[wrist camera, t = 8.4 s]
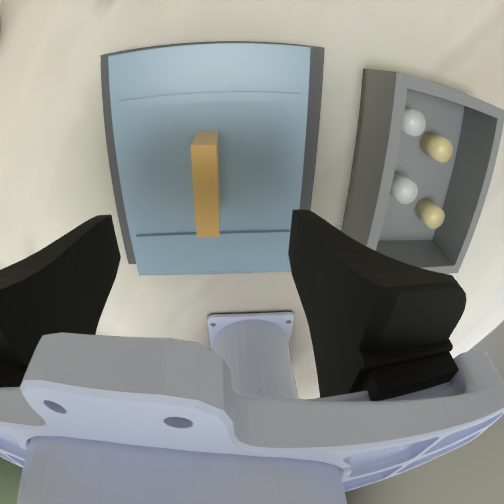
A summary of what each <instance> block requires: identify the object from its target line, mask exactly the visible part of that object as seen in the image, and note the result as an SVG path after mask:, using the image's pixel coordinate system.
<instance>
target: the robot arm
mask: <svg viewBox="0 0 504 504" xmlns="http://www.w3.org/2000/svg"><path fill="white" fill-rule="evenodd" d="M288 256H289V261H290V267H291V272H292V276H293V279H294V282H295V285H296V288H297V291H298V293H299V296H300V299H301V302H302V305H303V308H304V311H305V314H306V317H307V321H308V324H309V329H310V334H311V339H312V344H313V350H314V356H315V362H316V368H317V375H318V383H319V390H320V398H316V399H308V400H304V399H299V398H298V393H297V388H296V383H295V378H294V373H293V368H292V363H291V358H290V353H289V345H290V339H291V334H292V328H293V322H294V314H293V313H292V312H274V313H251V314H216V315H209V316H208V318H207V322H208V331H209V339H210V348H211V350H210V349H208V348H206V347H205V346H203V345H201V344H199V343H197V342H191V341H185V340H179V339H174V338H145V337H120V336H102V335H95V334H96V329H97V326H98V322H99V319H100V316H101V314H102V311H103V308H104V306H105V303H106V301H107V298H108V296H109V293H110V291H111V288H112V286H113V283H114V280H115V278H116V274H117V271H118V267H119V262H120V258H121V256H120V252H119V248H118V244H117V240H116V235H115V231H114V226H113V221H112V216H111V215H98V216H96V217H93V218H91V219H89V220H88V221H86V222H84V223H83V224H81V225H79V226H78V227H76V228H75V229H73V230H72V231H70V232H69V233H67V234H66V235H64V236H62V237H61V238H59V239H58V240H56V241H54V242H53V243H51V244H50V245H48V246H47V247H45V248H43V249H42V250H40V251H38V252H36V253H35V254H33V255H31V256H29V257H27V258H25V259H23V260H21V261H19V262H17V263H15V264H12V265H10V266H8V267H6V268H4V269H1V270H0V457H2V458H4V459H6V460H8V461H10V462H12V463H14V464H16V465H18V466H21V467H23V471H22V476H21V481H20V487H19V493H18V499H17V504H347V502H346V497H345V491H349V490H352V489H356V488H359V487H362V486H366V485H369V484H372V483H375V482H378V481H381V480H384V479H386V478H389V477H392V476H394V475H397V474H400V473H402V472H405V471H407V470H410V469H412V468H415V467H417V466H419V465H422V464H424V463H426V462H429V461H430V460H433V459H435V458H437V457H440V456H442V455H444V454H446V453H448V452H450V451H452V450H454V449H456V448H458V447H460V446H462V445H464V444H466V443H468V442H470V441H472V440H473V439H475V438H476V437H477V436H479V435H480V434H481V433H482V432H483V431H484V430H486V429H487V428H488V427H489V426H491V425H492V424H493V423H494V422H495V421H496V420H497V419H499V418H500V417H501V416H502V415H503V414H504V382H503V381H502V379H501V377H500V375H499V373H498V372H497V370H496V368H495V366H494V365H493V363H492V361H491V360H490V358H489V356H488V355H487V353H486V351H485V350H484V348H478V349H475V350H472V351H468V352H465V353H462V354H460V355H458V356H457V357H455V358H454V359H453V358H452V356H451V354H450V352H449V351H451V350H452V348H453V345H452V343H451V342H450V340H449V337H450V335H451V333H452V332H453V330H454V328H455V327H456V325H457V323H458V322H459V320H460V318H461V316H462V314H463V312H464V309H465V305H466V293H465V292H464V290H463V289H462V288H461V286H460V285H459V284H458V282H457V281H456V280H455V279H454V277H453V276H452V275H448V274H444V273H439V272H435V271H430V270H426V269H422V268H419V267H416V266H413V265H409V264H406V263H404V262H401V261H398V260H396V259H393V258H391V257H388V256H386V255H383V254H381V253H379V252H377V251H375V250H373V249H371V248H369V247H367V246H365V245H363V244H361V243H359V242H358V241H356V240H354V239H353V238H351V237H349V236H348V235H346V234H344V233H343V232H341V231H340V230H338V229H337V228H335V227H334V226H332V225H331V224H329V223H328V222H327V221H325V220H324V219H322V218H321V217H319V216H318V215H316V214H315V213H313V212H312V211H310V210H293V211H292V221H291V231H290V241H289V250H288ZM287 320H289V321H287ZM213 323H214V324H213Z"/></svg>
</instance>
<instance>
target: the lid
mask: <svg viewBox="0 0 504 504" xmlns="http://www.w3.org/2000/svg"><path fill="white" fill-rule="evenodd" d="M108 65H109V86H110V100H111V113H112V123H113V133H114V141H115V150H116V157H117V164H118V171H119V178H120V184H121V190H122V196H123V202H124V207H125V213H126V218H127V223H128V228H129V233H130V238H131V242H132V247H133V251H134V256H135V260H136V264H137V268H138V272H139V275H185V274H223V273H254V272H281V271H291V267H290V261H289V256H288V250H289V241H290V231H291V221H292V211H293V210H299V209H300V198H301V187H302V176H303V164H304V152H305V139H306V124H307V109H308V91H309V72H310V47H303V46H292V45H279V44H257V43H219V44H197V45H184V46H173V47H164V48H156V49H148V50H141V51H135V52H129V53H123V54H118V55H113V56H108Z"/></svg>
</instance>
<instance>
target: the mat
mask: <svg viewBox="0 0 504 504" xmlns="http://www.w3.org/2000/svg"><path fill="white" fill-rule="evenodd" d="M219 43H257V44H279V45H292V46H303V47H310V72H309V91H308V109H307V124H306V139H305V152H304V164H303V176H302V187H301V198H300V209H299V210H310V206H311V198H312V190H313V181H314V172H315V162H316V153H317V142H318V132H319V120H320V108H321V95H322V80H323V64H324V48H322V47H314V46H305V45H296V44H285V43H270V42H240V41H226V42H197V43H182V44H171V45H161V46H153V47H145V48H138V49H132V50H126V51H120V52H115V53H110V54H105V55H101V81H102V98H103V111H104V122H105V132H106V141H107V149H108V157H109V164H110V171H111V178H112V184H113V190H114V196H115V201H116V207H117V212H118V217H119V222H120V227H121V232H122V237H123V241H124V246H125V250H126V254H127V259H128V263H129V264H136V260H135V256H134V251H133V247H132V242H131V238H130V233H129V228H128V223H127V218H126V213H125V207H124V202H123V196H122V190H121V184H120V178H119V171H118V164H117V157H116V150H115V141H114V133H113V123H112V113H111V100H110V86H109V65H108V56H113V55H118V54H123V53H129V52H135V51H141V50H148V49H156V48H164V47H173V46H184V45H197V44H219Z"/></svg>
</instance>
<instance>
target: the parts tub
mask: <svg viewBox="0 0 504 504" xmlns="http://www.w3.org/2000/svg"><path fill="white" fill-rule="evenodd" d="M503 122H504V110H502V109H500V108H498V107H496V106H493V105H491V104H489V103H486V102H484V101H482V100H479V99H477V98H474V97H472V96H469V95H467V94H464V93H462V92H459V91H456V90H453V89H451V88H448V87H445V86H442V85H439V84H436V83H433V82H430V81H426V80H423V79H420V78H416V77H413V76H409V75H405V74H402V73H398V72H391V71H381V70H370V69H363V82H362V93H361V103H360V113H359V122H358V130H357V138H356V146H355V153H354V160H353V167H352V174H351V180H350V186H349V192H348V198H347V204H346V210H345V215H344V220H343V226H342V231H341V232H343V233H344V234H346V235H348V236H349V237H351V238H353V239H354V240H356V241H358V242H359V243H361V244H363V245H365V246H367V247H369V248H371V249H373V250H375V251H377V252H379V253H381V254H383V255H386V256H388V257H391V258H393V259H396V260H398V261H401V262H404V263H406V264H409V265H413V266H416V267H419V268H422V269H426V270H430V271H435V272H439V273H444V274H449V273H458V271H459V268H460V266H461V264H462V261H463V259H464V257H465V254H466V252H467V249H468V247H469V244H470V242H471V239H472V236H473V234H474V231H475V228H476V225H477V223H478V220H479V217H480V214H481V211H482V208H483V205H484V202H485V198H486V195H487V192H488V188H489V185H490V181H491V177H492V174H493V170H494V166H495V162H496V157H497V153H498V149H499V144H500V139H501V134H502V128H503Z"/></svg>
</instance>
